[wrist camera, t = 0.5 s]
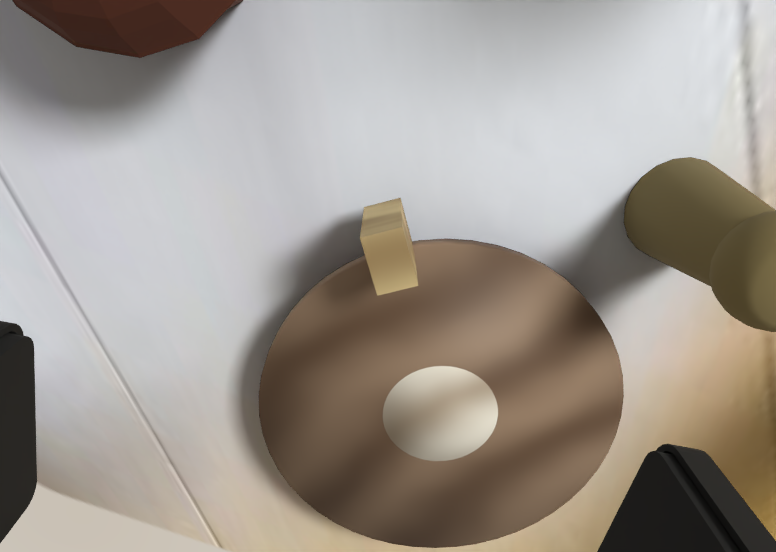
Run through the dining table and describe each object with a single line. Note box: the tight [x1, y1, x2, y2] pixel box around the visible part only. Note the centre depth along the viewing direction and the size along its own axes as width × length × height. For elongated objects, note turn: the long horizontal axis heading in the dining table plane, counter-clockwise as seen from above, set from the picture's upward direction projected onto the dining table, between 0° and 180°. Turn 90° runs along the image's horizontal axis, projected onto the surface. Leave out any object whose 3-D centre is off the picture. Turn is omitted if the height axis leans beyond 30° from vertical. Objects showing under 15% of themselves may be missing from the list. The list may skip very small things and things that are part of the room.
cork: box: [624, 157, 776, 332], centre depth 27 cm, size 6×6×11 cm
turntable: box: [259, 198, 624, 548], centre depth 33 cm, size 23×22×5 cm
